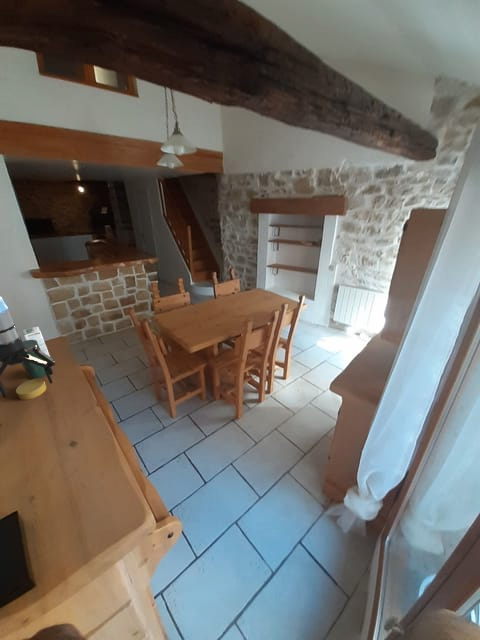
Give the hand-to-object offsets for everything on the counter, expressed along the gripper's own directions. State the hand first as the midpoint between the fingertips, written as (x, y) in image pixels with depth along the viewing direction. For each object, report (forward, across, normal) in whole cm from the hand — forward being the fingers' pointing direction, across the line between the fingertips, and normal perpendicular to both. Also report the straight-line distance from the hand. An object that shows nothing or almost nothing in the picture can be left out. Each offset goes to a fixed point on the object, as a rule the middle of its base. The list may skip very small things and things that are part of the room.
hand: (29, 388), depth 94 cm
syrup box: (+2, -3, -24) cm, 25 cm away
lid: (0, 0, 0) cm, 1 cm away
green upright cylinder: (+2, -2, -12) cm, 12 cm away
